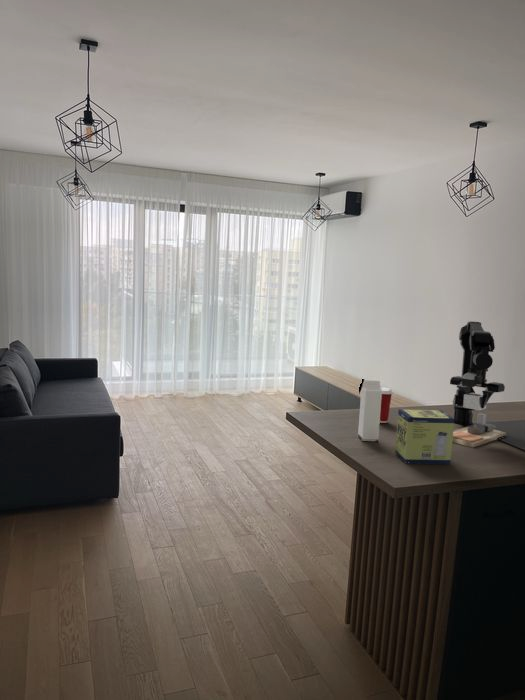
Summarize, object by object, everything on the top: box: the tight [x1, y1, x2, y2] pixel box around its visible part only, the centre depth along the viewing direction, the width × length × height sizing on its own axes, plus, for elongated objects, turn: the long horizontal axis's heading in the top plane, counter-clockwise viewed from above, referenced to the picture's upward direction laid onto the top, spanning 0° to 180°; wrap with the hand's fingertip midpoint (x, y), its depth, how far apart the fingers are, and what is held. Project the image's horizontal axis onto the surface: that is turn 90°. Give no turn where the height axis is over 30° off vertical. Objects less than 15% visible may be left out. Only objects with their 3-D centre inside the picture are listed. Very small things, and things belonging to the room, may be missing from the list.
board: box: [452, 426, 507, 448], centre depth 205 cm, size 13×26×2 cm, turn 131°
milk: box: [357, 380, 382, 440], centre depth 194 cm, size 6×6×22 cm
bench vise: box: [467, 412, 497, 435], centre depth 208 cm, size 5×14×7 cm, turn 131°
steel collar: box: [463, 392, 487, 411], centre depth 200 cm, size 6×6×5 cm
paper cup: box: [380, 386, 393, 421], centre depth 221 cm, size 8×8×14 cm
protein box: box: [394, 408, 455, 465], centre depth 176 cm, size 10×16×16 cm
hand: (474, 406), depth 200 cm, fingers closed on steel collar, 6 cm apart
